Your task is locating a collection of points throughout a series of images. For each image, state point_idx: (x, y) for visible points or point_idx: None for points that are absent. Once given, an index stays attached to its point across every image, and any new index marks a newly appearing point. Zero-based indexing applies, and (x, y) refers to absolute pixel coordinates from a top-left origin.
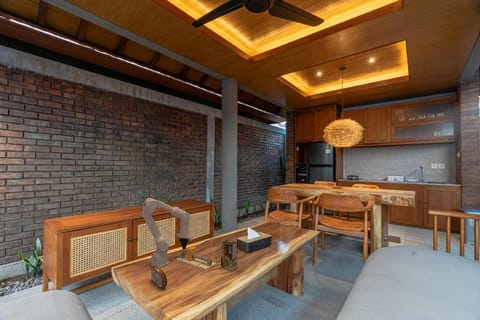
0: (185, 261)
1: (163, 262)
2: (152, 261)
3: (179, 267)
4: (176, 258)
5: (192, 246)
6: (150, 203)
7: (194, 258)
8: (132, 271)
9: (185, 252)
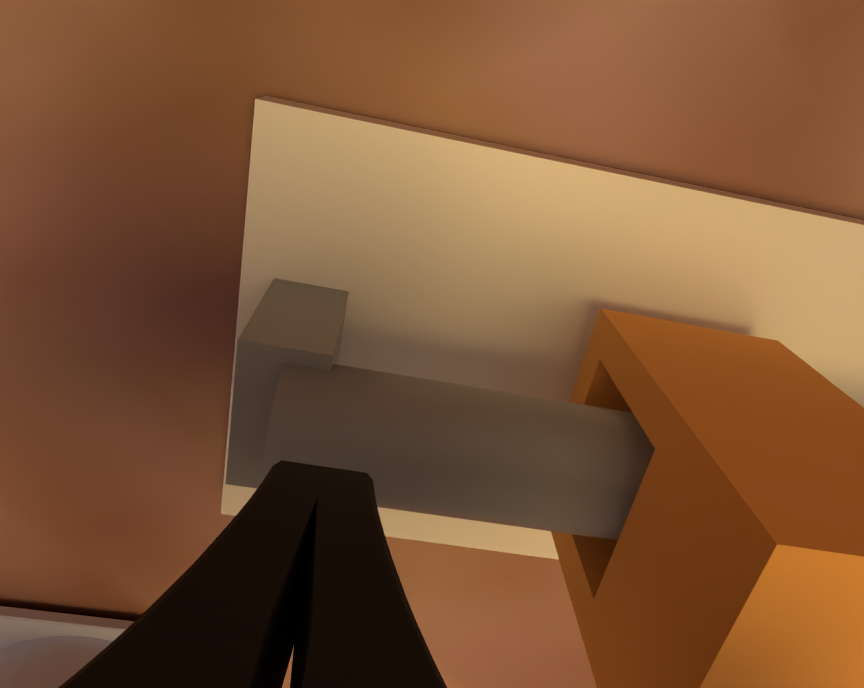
0: (552, 541)
1: None
2: None
3: (535, 683)
4: (223, 496)
5: (832, 563)
6: None
7: (706, 318)
8: None
9: (451, 515)
